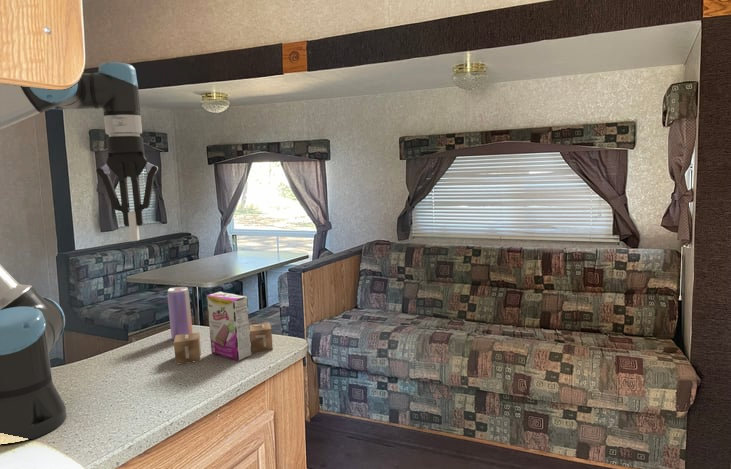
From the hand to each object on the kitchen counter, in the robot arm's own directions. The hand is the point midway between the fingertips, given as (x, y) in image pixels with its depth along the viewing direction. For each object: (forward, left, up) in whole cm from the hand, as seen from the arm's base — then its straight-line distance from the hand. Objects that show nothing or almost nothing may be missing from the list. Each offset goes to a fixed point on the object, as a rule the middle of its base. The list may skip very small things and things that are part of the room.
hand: (135, 240), depth 125 cm
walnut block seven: (+27, +15, -35) cm, 46 cm away
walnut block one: (+8, +13, -35) cm, 38 cm away
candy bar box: (+19, +12, -35) cm, 41 cm away
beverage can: (+5, +31, -35) cm, 47 cm away
